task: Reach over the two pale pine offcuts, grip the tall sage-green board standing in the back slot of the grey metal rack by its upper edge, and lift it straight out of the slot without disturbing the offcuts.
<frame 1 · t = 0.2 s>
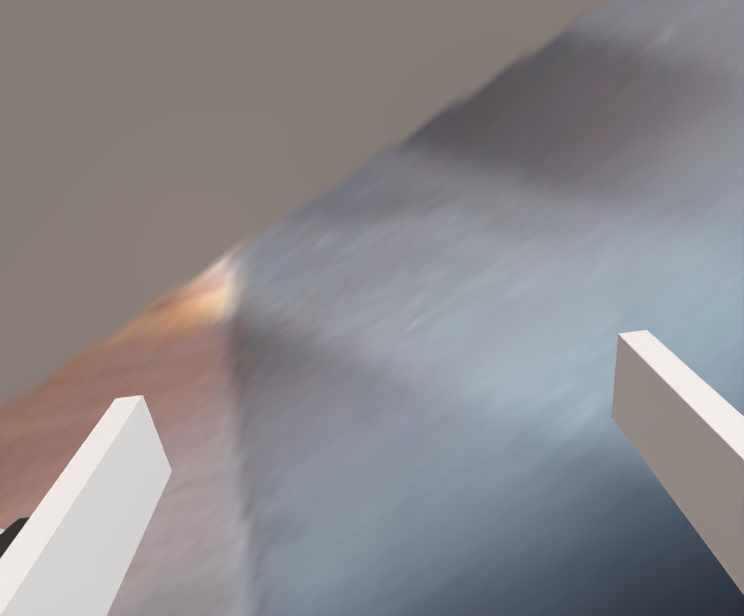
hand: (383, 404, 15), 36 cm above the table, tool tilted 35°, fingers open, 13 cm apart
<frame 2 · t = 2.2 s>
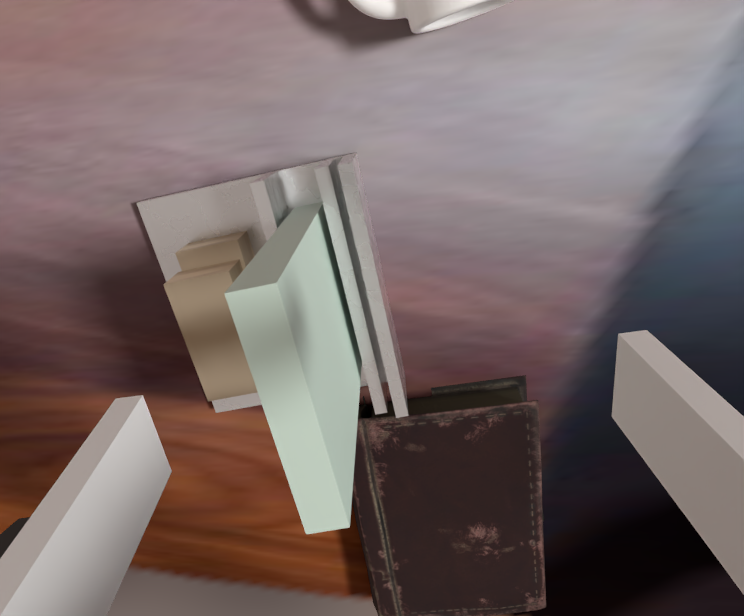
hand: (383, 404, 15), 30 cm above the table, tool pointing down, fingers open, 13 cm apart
rack: (281, 292, 45), on the table
board: (330, 285, 44), point 1 cm above the table, touching rack
diary: (446, 488, 53), on the table
offcut upper: (228, 323, 42), point 4 cm above the table, touching offcut lower
offcut lower: (239, 304, 44), point 1 cm above the table, touching offcut upper, rack
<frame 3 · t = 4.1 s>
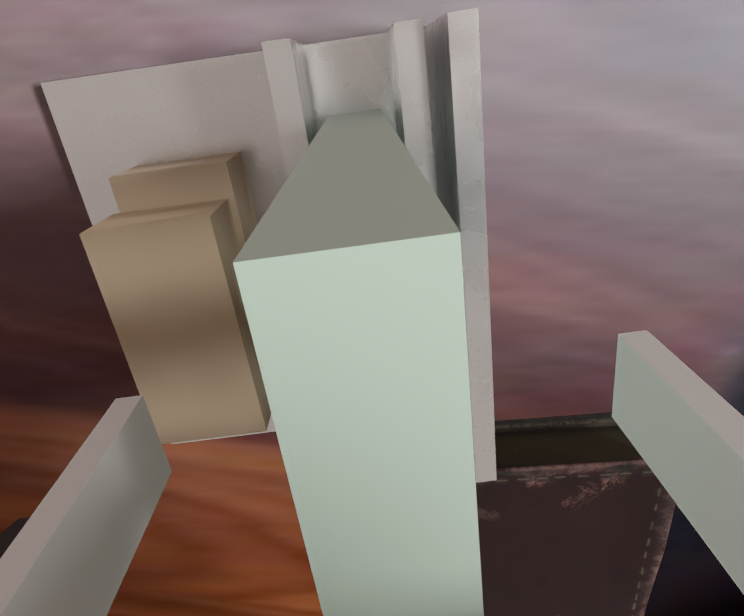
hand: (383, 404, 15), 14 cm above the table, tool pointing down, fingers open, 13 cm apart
rack: (289, 262, 28), on the table
board: (374, 257, 27), point 1 cm above the table, touching rack
diary: (499, 553, 38), on the table
offcut upper: (201, 311, 24), point 4 cm above the table, touching offcut lower
offcut lower: (220, 277, 27), point 1 cm above the table, touching offcut upper, rack
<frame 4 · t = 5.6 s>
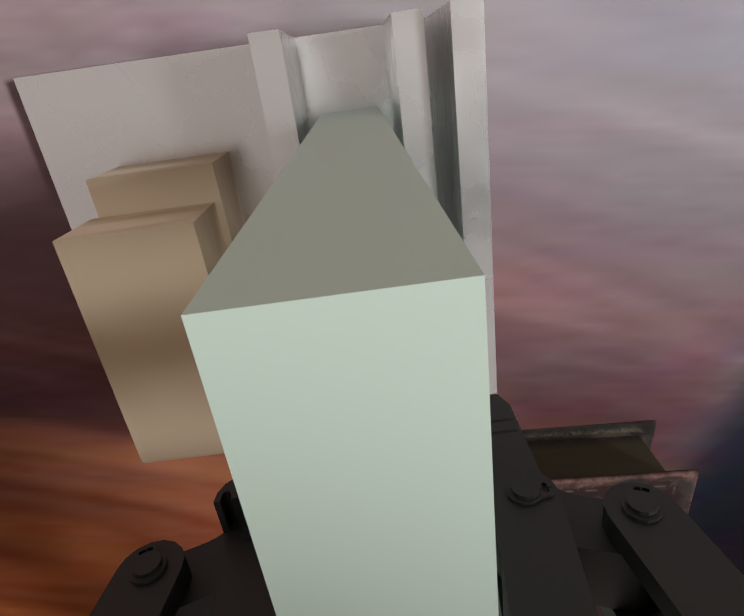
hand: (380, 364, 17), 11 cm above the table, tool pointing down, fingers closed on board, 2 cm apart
rack: (281, 267, 26), on the table
board: (370, 262, 25), point 1 cm above the table, touching gripper, rack
diary: (501, 565, 37), on the table
offcut upper: (187, 321, 23), point 4 cm above the table, touching offcut lower
offcut lower: (208, 284, 25), point 1 cm above the table, touching offcut upper, rack
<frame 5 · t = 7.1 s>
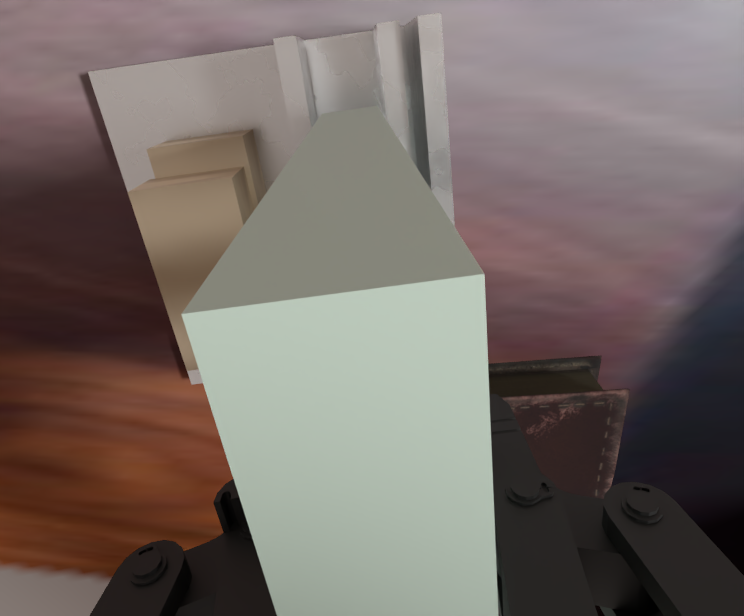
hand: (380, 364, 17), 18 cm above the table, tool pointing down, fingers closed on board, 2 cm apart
rack: (292, 224, 33), on the table
board: (370, 262, 25), point 8 cm above the table, touching gripper
diary: (476, 487, 43), on the table
offcut upper: (220, 262, 29), point 4 cm above the table, touching offcut lower
offcut lower: (234, 236, 32), point 1 cm above the table, touching offcut upper, rack
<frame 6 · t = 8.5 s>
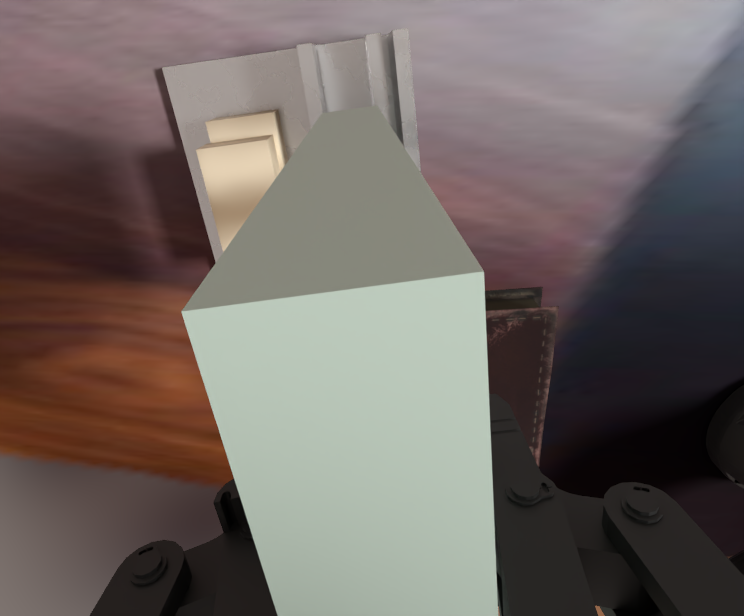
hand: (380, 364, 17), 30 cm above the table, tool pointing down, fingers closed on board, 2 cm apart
rack: (305, 181, 44), on the table
board: (370, 262, 25), point 21 cm above the table, touching gripper
diary: (449, 398, 55), on the table
offcut upper: (255, 205, 41), point 4 cm above the table, touching offcut lower
offcut lower: (263, 189, 43), point 1 cm above the table, touching offcut upper, rack
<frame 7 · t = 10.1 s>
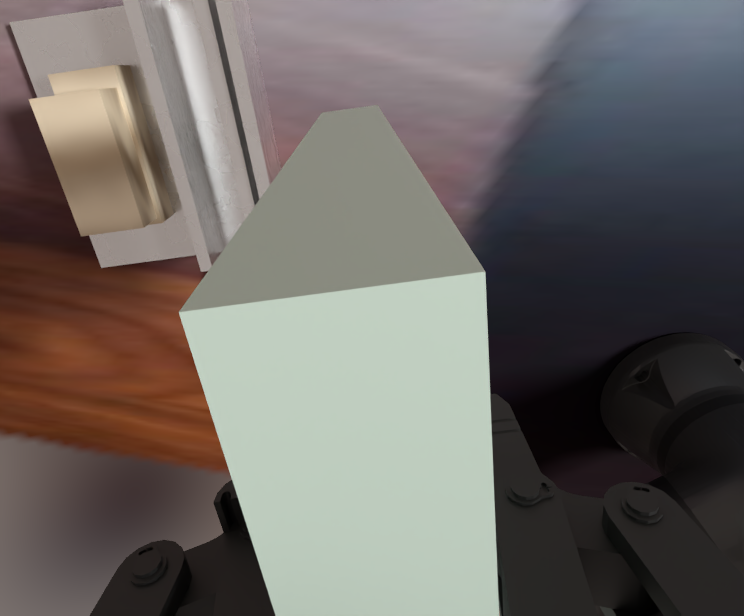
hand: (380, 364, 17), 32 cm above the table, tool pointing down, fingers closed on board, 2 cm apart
rack: (168, 140, 44), on the table
board: (370, 262, 25), point 23 cm above the table, touching gripper
offcut upper: (106, 160, 41), point 4 cm above the table, touching offcut lower
offcut lower: (123, 147, 43), point 1 cm above the table, touching offcut upper, rack
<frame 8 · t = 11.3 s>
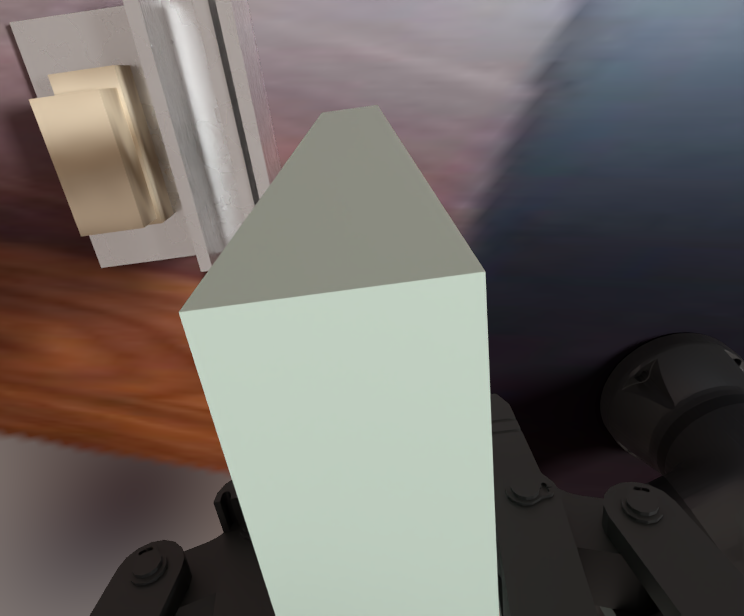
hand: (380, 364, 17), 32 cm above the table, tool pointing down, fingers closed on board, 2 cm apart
rack: (168, 140, 44), on the table
board: (370, 262, 25), point 23 cm above the table, touching gripper
offcut upper: (107, 160, 41), point 4 cm above the table, touching offcut lower
offcut lower: (123, 148, 43), point 1 cm above the table, touching offcut upper, rack
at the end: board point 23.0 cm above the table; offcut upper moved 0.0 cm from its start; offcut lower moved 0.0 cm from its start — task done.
